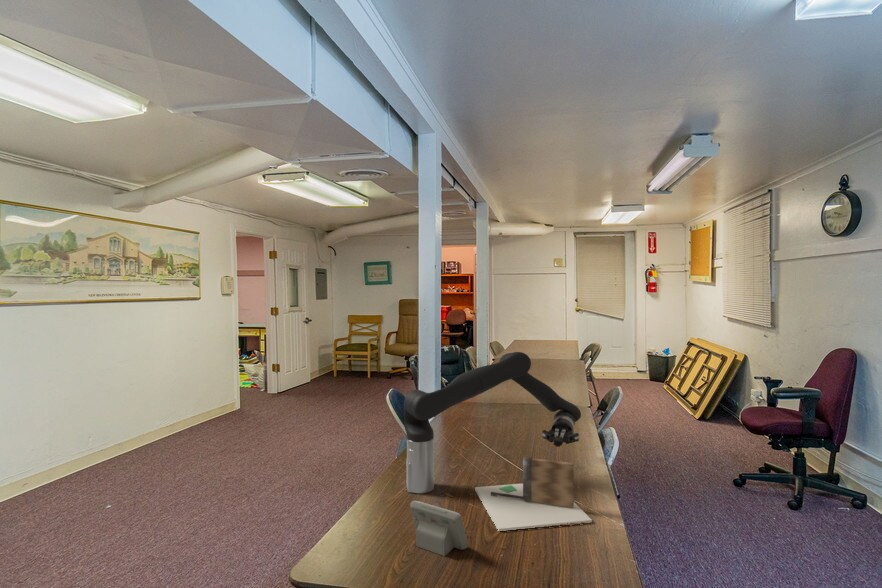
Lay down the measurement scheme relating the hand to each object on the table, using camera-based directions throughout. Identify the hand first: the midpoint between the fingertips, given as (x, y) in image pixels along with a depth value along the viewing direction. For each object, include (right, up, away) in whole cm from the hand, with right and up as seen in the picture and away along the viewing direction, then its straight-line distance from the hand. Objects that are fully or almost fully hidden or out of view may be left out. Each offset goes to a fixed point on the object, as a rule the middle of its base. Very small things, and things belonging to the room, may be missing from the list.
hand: (557, 443), depth 155 cm
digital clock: (-39, -18, -29) cm, 52 cm away
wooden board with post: (-10, -16, -7) cm, 20 cm away
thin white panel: (-11, -17, -8) cm, 22 cm away
